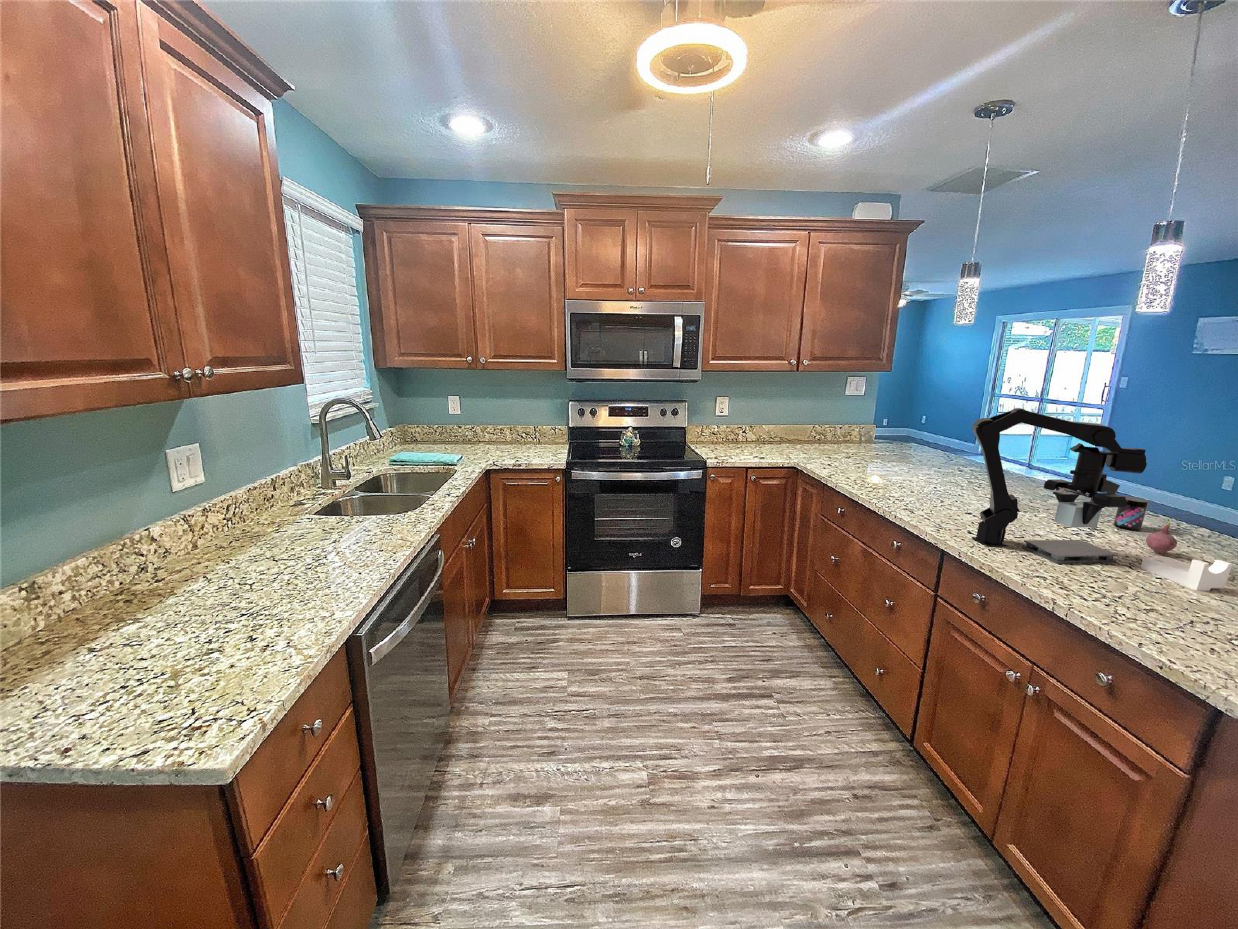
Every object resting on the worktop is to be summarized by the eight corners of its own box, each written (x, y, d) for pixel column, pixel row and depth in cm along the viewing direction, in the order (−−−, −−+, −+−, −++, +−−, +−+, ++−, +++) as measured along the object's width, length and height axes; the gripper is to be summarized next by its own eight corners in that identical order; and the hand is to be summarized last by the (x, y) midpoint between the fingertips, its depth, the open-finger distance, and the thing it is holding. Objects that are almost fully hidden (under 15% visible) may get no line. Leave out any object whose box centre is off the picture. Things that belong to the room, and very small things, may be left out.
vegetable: (1167, 559, 139) (1177, 527, 137) (1138, 551, 145) (1147, 520, 142) (1176, 556, 142) (1186, 524, 139) (1147, 548, 147) (1156, 517, 145)
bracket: (1223, 591, 121) (1232, 564, 119) (1195, 591, 121) (1204, 564, 119) (1164, 568, 134) (1172, 543, 132) (1140, 568, 133) (1147, 543, 132)
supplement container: (1107, 524, 167) (1114, 496, 165) (1122, 524, 168) (1130, 495, 166) (1130, 532, 161) (1138, 502, 158) (1146, 531, 162) (1154, 501, 159)
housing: (1096, 527, 137) (1102, 506, 135) (1070, 527, 136) (1076, 506, 135) (1079, 521, 142) (1084, 501, 140) (1054, 521, 141) (1059, 501, 140)
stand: (1056, 563, 135) (1058, 555, 135) (1022, 548, 146) (1024, 540, 145) (1115, 562, 136) (1117, 554, 136) (1077, 547, 147) (1079, 539, 146)
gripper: (1153, 477, 126) (1137, 532, 130) (1082, 461, 145) (1070, 510, 148) (1114, 477, 126) (1099, 533, 129) (1047, 461, 144) (1036, 510, 147)
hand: (1075, 520), depth 139 cm, fingers closed on housing, 5 cm apart
